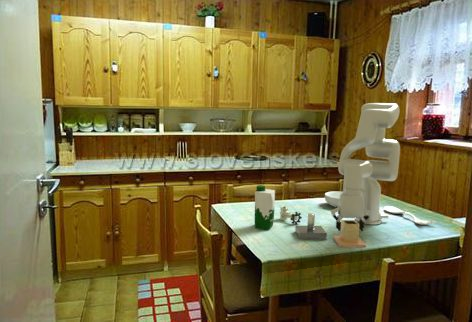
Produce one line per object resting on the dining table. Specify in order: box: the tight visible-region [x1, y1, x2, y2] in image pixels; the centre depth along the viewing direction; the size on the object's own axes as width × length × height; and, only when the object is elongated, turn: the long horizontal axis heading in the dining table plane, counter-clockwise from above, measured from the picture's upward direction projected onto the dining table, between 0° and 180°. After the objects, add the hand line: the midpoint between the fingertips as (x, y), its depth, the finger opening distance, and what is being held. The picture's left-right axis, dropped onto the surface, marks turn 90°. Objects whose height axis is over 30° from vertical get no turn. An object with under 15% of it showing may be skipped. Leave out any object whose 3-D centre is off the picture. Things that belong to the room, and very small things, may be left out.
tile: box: [332, 235, 367, 248], centre depth 165 cm, size 11×11×1 cm
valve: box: [279, 205, 303, 226], centre depth 192 cm, size 7×7×12 cm
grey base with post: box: [294, 212, 328, 241], centre depth 172 cm, size 12×10×10 cm
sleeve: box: [339, 219, 360, 243], centre depth 165 cm, size 6×6×8 cm
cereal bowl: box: [324, 190, 343, 208], centre depth 223 cm, size 17×17×7 cm
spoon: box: [383, 205, 437, 225], centre depth 202 cm, size 9×32×4 cm, turn 15°
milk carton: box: [254, 184, 276, 231], centre depth 182 cm, size 9×9×20 cm
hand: (349, 229), depth 165 cm, fingers open, 9 cm apart
